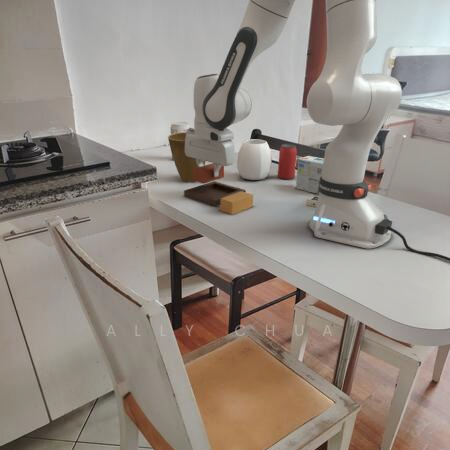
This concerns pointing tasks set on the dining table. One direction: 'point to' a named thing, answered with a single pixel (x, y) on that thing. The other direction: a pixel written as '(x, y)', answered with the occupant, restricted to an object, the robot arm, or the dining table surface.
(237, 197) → the orange rectangular block
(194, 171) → the reddish brown rectangular block
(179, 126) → the supplement can
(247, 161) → the white faceted vase
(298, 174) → the light bulb box
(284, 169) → the beer can
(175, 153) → the plant pot
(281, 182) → the dining table surface
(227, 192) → the dark brown square tray
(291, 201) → the dining table surface
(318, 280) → the dining table surface
